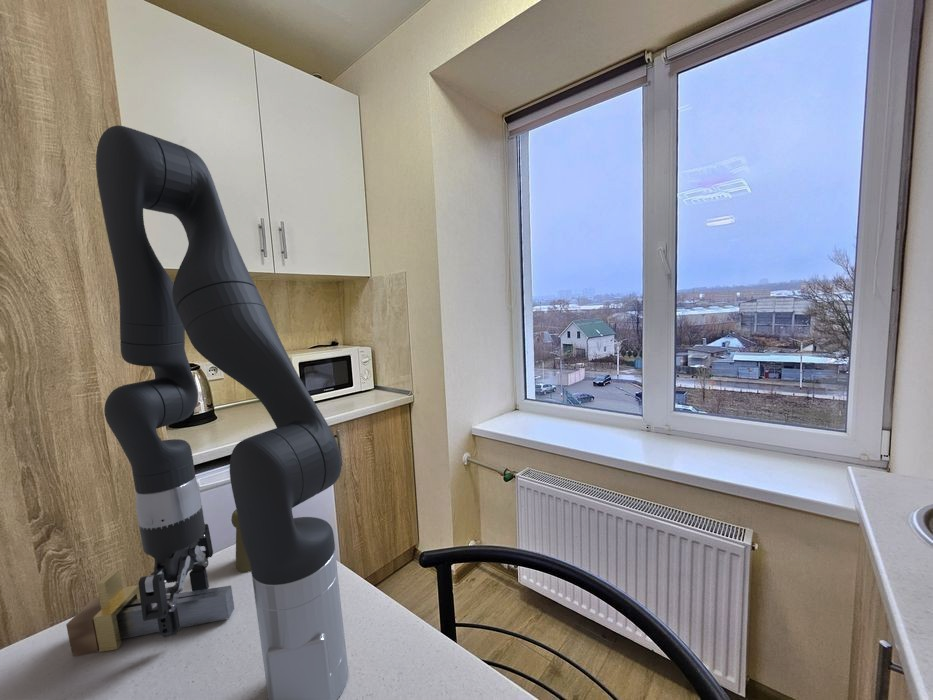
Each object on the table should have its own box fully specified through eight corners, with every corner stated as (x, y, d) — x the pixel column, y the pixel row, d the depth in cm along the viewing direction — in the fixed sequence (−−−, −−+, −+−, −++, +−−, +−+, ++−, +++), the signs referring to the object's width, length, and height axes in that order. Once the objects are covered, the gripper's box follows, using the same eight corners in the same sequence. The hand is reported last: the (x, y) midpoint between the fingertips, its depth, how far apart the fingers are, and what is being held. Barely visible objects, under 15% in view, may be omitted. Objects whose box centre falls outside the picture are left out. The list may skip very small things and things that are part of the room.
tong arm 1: (109, 640, 57) (105, 616, 56) (114, 635, 58) (110, 610, 57) (229, 618, 60) (225, 594, 59) (231, 613, 61) (228, 589, 60)
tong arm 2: (118, 631, 58) (113, 606, 58) (123, 625, 59) (118, 601, 59) (231, 613, 61) (228, 589, 60) (234, 608, 61) (231, 585, 61)
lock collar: (99, 652, 55) (88, 591, 54) (128, 618, 61) (118, 563, 60) (117, 649, 55) (106, 588, 54) (144, 616, 61) (134, 561, 60)
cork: (227, 569, 72) (219, 513, 71) (253, 549, 78) (247, 497, 76) (253, 574, 70) (245, 517, 69) (278, 553, 76) (271, 500, 75)
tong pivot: (72, 656, 55) (66, 624, 54) (99, 627, 60) (93, 598, 59) (98, 651, 55) (92, 620, 55) (122, 623, 60) (117, 594, 60)
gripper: (171, 535, 51) (189, 646, 53) (220, 486, 65) (233, 575, 67) (107, 544, 50) (127, 657, 52) (171, 492, 64) (185, 583, 66)
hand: (187, 611), depth 59 cm, fingers open, 8 cm apart
